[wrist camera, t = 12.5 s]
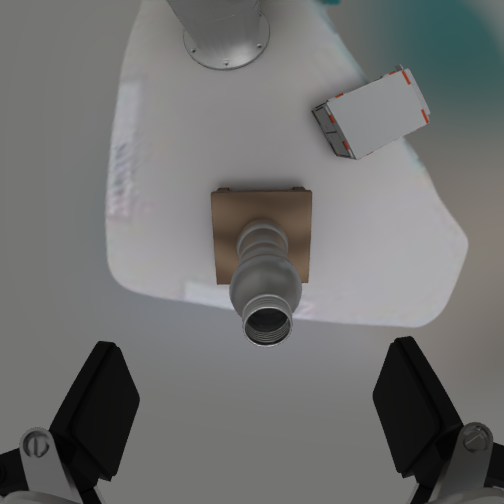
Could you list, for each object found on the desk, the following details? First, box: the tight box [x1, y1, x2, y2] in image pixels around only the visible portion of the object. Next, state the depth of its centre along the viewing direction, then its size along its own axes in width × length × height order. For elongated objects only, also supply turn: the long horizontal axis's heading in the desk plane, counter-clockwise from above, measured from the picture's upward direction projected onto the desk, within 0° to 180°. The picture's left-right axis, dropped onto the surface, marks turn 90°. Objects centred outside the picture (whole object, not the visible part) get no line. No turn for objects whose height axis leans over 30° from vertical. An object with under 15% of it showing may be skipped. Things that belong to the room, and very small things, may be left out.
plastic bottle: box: [229, 219, 302, 347], centre depth 30 cm, size 6×7×20 cm
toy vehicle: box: [312, 64, 430, 160], centre depth 33 cm, size 10×17×10 cm, turn 121°
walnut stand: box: [211, 187, 312, 284], centre depth 42 cm, size 13×13×6 cm
